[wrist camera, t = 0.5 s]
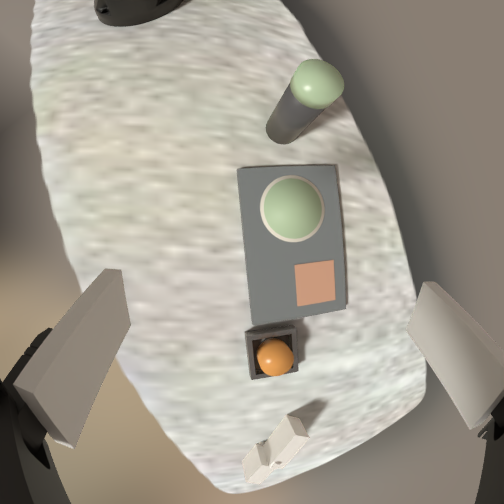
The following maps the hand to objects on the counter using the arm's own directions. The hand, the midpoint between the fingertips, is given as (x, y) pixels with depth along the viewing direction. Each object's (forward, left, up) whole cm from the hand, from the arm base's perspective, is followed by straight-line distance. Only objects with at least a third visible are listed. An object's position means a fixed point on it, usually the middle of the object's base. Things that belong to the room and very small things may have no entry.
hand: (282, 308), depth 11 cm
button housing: (+12, +3, -21) cm, 25 cm away
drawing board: (-1, +7, -21) cm, 22 cm away
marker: (-15, +7, -21) cm, 27 cm away
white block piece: (+28, +1, -22) cm, 36 cm away
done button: (+12, +3, -21) cm, 25 cm away
